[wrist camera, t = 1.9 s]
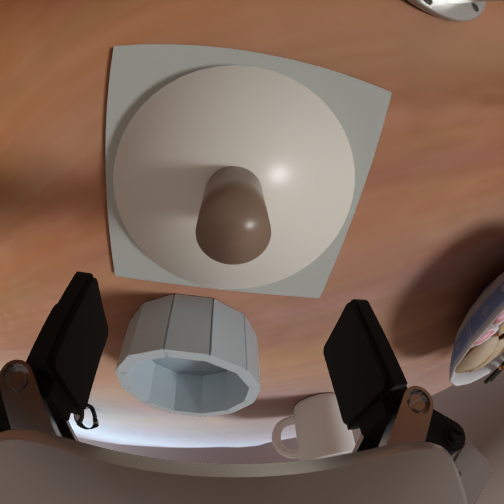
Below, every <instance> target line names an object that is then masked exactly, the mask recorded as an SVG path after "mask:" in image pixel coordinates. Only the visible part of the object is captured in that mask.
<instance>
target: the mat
mask: <svg viewBox="0 0 504 504" xmlns="http://www.w3.org/2000/svg"><path fill="white" fill-rule="evenodd" d="M230 65H241V66H252V67H259V68H263V69H267V70H271V71H275V72H277V73H280V74H282V75H285V76H287V77H289V78H292V79H293V80H295V81H297V82H299V83H300V84H302V85H304V86H305V87H307V88H308V89H309V90H311V91H312V92H313V93H314V94H316V95H317V96H318V97H319V98H320V99H321V100H322V101H323V102H324V103H325V104H326V105H327V106H328V107H329V108H330V110H331V111H332V112H333V113H334V115H335V116H336V118H337V119H338V121H339V122H340V124H341V126H342V128H343V130H344V132H345V134H346V136H347V138H348V141H349V144H350V147H351V151H352V154H353V161H354V168H355V186H354V193H353V199H352V203H351V206H350V210H349V213H348V215H347V218H346V220H345V222H344V225H343V226H342V228H341V230H340V231H339V233H338V235H337V236H336V238H335V239H334V240H333V242H332V243H331V244H330V245H329V247H328V248H327V249H326V250H325V251H324V252H323V253H322V254H321V255H320V256H319V257H318V258H317V259H315V260H314V261H313V262H312V263H310V264H309V265H308V266H306V267H305V268H303V269H302V270H300V271H298V272H297V273H295V274H293V275H291V276H289V277H287V278H285V279H282V280H279V281H277V282H274V283H271V284H267V285H263V286H259V287H253V288H246V289H222V290H231V291H241V292H251V293H262V294H273V295H285V296H297V297H311V298H320V296H321V294H322V292H323V289H324V287H325V285H326V283H327V280H328V278H329V276H330V273H331V271H332V269H333V266H334V264H335V261H336V259H337V256H338V254H339V251H340V249H341V247H342V244H343V241H344V239H345V236H346V234H347V231H348V229H349V226H350V223H351V221H352V218H353V215H354V213H355V210H356V207H357V204H358V202H359V199H360V196H361V193H362V190H363V187H364V184H365V181H366V178H367V175H368V172H369V169H370V166H371V163H372V160H373V157H374V154H375V151H376V147H377V144H378V141H379V137H380V134H381V131H382V127H383V124H384V120H385V116H386V113H387V109H388V105H389V101H390V97H391V93H392V92H389V91H387V90H385V89H382V88H380V87H377V86H375V85H372V84H370V83H367V82H364V81H362V80H359V79H356V78H353V77H350V76H347V75H344V74H341V73H338V72H335V71H332V70H329V69H325V68H322V67H318V66H315V65H311V64H307V63H303V62H299V61H295V60H291V59H287V58H282V57H277V56H272V55H267V54H262V53H256V52H250V51H243V50H236V49H228V48H220V47H209V46H196V45H173V44H147V45H125V46H114V48H113V55H112V62H111V70H110V79H109V89H108V100H107V116H106V192H107V209H108V221H109V232H110V241H111V250H112V258H113V265H114V272H115V276H120V277H126V278H133V279H140V280H148V281H155V282H163V283H171V284H179V285H187V286H195V287H204V288H213V287H206V286H202V285H199V284H195V283H192V282H189V281H186V280H184V279H181V278H179V277H177V276H175V275H173V274H171V273H169V272H168V271H166V270H165V269H163V268H162V267H160V266H159V265H157V264H156V263H155V262H153V261H152V260H151V259H150V258H149V257H148V256H146V254H145V253H144V252H143V251H142V250H141V249H140V248H139V247H138V246H137V245H136V243H135V242H134V240H133V239H132V238H131V236H130V235H129V233H128V231H127V230H126V228H125V226H124V224H123V222H122V219H121V217H120V214H119V212H118V209H117V205H116V200H115V196H114V186H113V171H114V162H115V157H116V152H117V149H118V146H119V143H120V140H121V137H122V135H123V133H124V131H125V129H126V127H127V126H128V124H129V122H130V120H131V119H132V118H133V116H134V115H135V114H136V112H137V111H138V110H139V108H140V107H141V106H142V105H143V104H144V103H145V102H146V101H147V100H148V99H149V98H150V97H151V96H152V95H154V94H155V93H156V92H157V91H159V90H160V89H161V88H163V87H164V86H166V85H167V84H169V83H171V82H173V81H174V80H176V79H178V78H180V77H182V76H185V75H187V74H190V73H193V72H195V71H198V70H202V69H207V68H212V67H217V66H230ZM213 289H219V288H213Z"/></svg>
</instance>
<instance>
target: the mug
mask: <svg viewBox="0 0 504 504" xmlns="http://www.w3.org/2000/svg"><path fill="white" fill-rule="evenodd" d="M293 412H294V416H289V417H286V418H284V419H282V420H281V421H279V422H278V423H277V425H276V426H275V428H274V430H273V433H272V443H273V446H274V448H275V449H276V451H277V452H278V453H279V454H281V455H282V456H284V457H287V458H291V459H300V461H304V460H312V459H319V458H326V457H332V456H338V455H343V454H349V453H352V451H353V449H354V447H355V442H354V438H353V434H352V430H348V428H347V424H344V423H343V421H342V417H341V414H340V410H339V406H338V403H337V399H336V395H335V393H322V394H317V395H313V396H310V397H307V398H305V399H303V400H301V401H300V402H298V403H297V404H296V405H295V407H294V411H293ZM292 424H295V428H296V435H297V442H298V449H297V450H290V449H287V448H285V447H284V446H283V444H282V442H281V432H282V430H283V428H285V427H286V426H288V425H292Z"/></svg>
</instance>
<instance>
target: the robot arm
mask: <svg viewBox="0 0 504 504" xmlns="http://www.w3.org/2000/svg"><path fill="white" fill-rule="evenodd" d="M407 1H408V2H410V3H411V4H413V5H415V6H416V7H418V8H419V9H421V10H423V11H424V12H427V13H429V14H431V15H433V16H435V17H438V18H441V19H444V20H447V21H457V22H458V21H469V20H473V19H476V18H477V17H478V16H480V15H481V13H482V12H483V10H484V8H485V5H486V1H504V0H407ZM107 337H108V325H107V322H106V318H105V314H104V309H103V305H102V301H101V296H100V291H99V287H98V281H97V279H96V278H94V277H93V275H92V274H91V273H85V272H76V274H75V275H74V277H73V278H72V280H71V282H70V283H69V285H68V287H67V288H66V290H65V292H64V293H63V295H62V297H61V299H60V300H59V302H58V304H56V305H55V306H54V307H53V309H52V311H51V312H50V314H49V316H48V318H47V320H46V322H45V324H44V325H43V327H42V329H41V331H40V333H39V335H38V337H37V339H36V341H35V343H34V346H33V348H32V350H31V352H30V354H29V356H28V358H27V361H26V362H25V361H22V360H12V361H10V362H8V363H6V364H5V366H4V367H3V368H2V370H1V371H0V504H475V503H476V501H477V499H478V498H479V496H480V494H481V492H482V490H483V489H484V487H485V485H486V483H487V481H488V479H489V477H490V474H491V468H490V464H489V463H488V461H487V460H486V459H485V458H484V457H483V456H482V455H481V454H480V453H479V451H478V450H477V449H476V448H475V447H474V446H473V445H472V444H471V443H470V442H469V441H468V440H467V441H466V442H465V433H464V431H463V428H462V427H461V426H460V425H459V424H458V423H456V422H455V421H453V420H451V419H449V418H448V417H446V416H444V415H442V414H441V413H439V412H437V411H436V410H434V409H433V400H432V397H431V396H430V394H429V393H428V392H427V391H426V390H425V389H423V388H422V387H419V386H412V387H409V388H408V389H407V386H406V385H407V381H406V379H405V377H404V374H403V372H402V370H401V368H400V365H399V363H398V361H397V359H396V357H395V355H394V352H393V350H392V348H391V346H390V344H389V342H388V340H387V338H386V336H385V334H384V332H383V330H382V328H381V326H380V324H379V322H378V320H377V318H376V316H375V314H374V312H373V310H372V308H371V306H370V304H369V302H368V301H367V300H358V299H353V300H352V301H351V302H350V303H348V304H347V305H346V306H345V308H344V310H343V312H342V314H341V316H340V318H339V320H338V322H337V324H336V326H335V328H334V330H333V331H332V333H331V335H330V337H329V339H328V341H327V342H326V344H325V346H324V357H325V360H326V364H327V367H328V371H329V374H330V377H331V381H332V385H333V388H334V392H335V395H336V399H337V403H338V406H339V410H340V414H341V417H342V421H343V423H344V424H347V428H348V430H352V429H358V428H360V430H361V435H360V437H359V439H358V441H357V443H356V445H355V447H354V449H353V451H352V453H349V454H343V455H338V456H332V457H326V458H319V459H312V460H304V461H295V462H284V463H269V464H208V463H207V464H206V463H193V462H181V461H172V460H164V459H157V458H150V457H143V456H139V455H133V454H128V453H123V452H119V451H114V450H110V449H105V448H101V447H97V446H93V445H89V444H86V443H82V442H79V441H78V439H77V437H76V435H75V433H74V431H73V429H72V427H71V425H70V423H69V421H68V420H69V418H70V414H71V413H73V414H76V415H81V411H82V409H83V410H85V409H86V407H87V403H88V399H89V396H90V392H91V388H92V385H93V381H94V378H95V374H96V371H97V368H98V364H99V361H100V358H101V355H102V352H103V349H104V346H105V343H106V340H107Z"/></svg>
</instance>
